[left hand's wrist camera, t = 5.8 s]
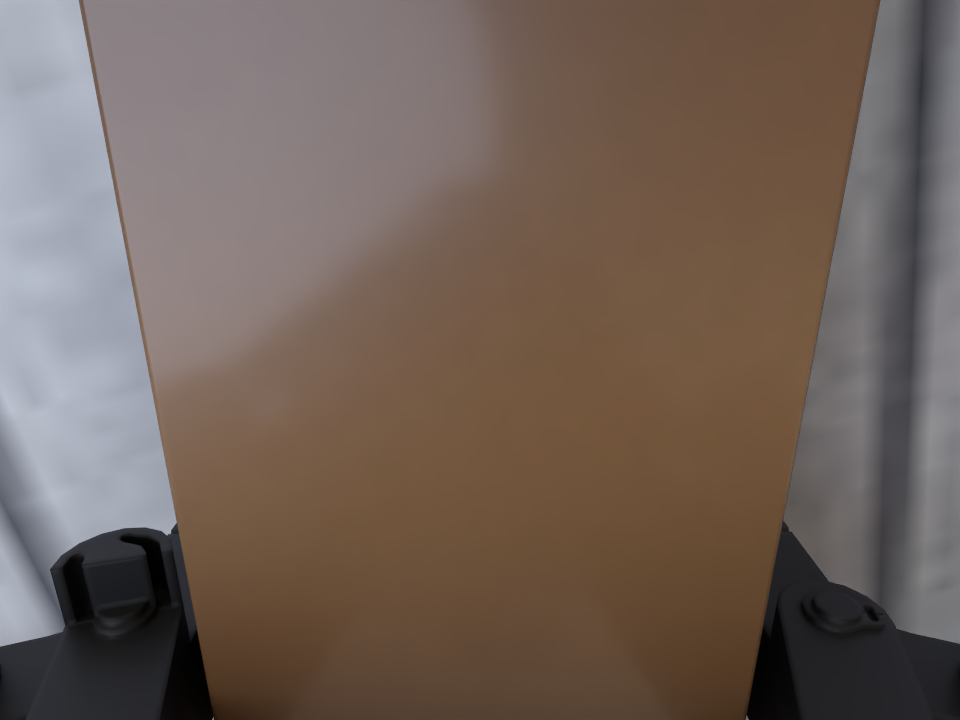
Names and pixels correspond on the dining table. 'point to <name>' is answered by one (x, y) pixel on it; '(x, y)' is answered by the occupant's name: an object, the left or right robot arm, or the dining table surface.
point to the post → (479, 335)
